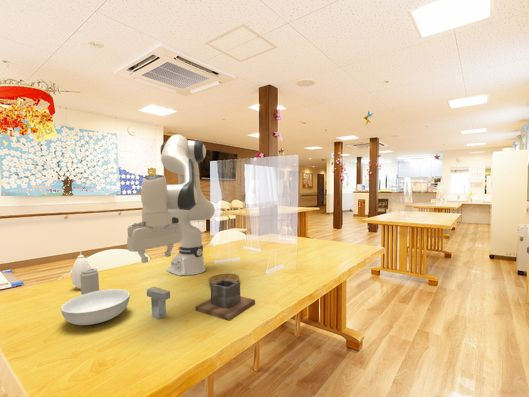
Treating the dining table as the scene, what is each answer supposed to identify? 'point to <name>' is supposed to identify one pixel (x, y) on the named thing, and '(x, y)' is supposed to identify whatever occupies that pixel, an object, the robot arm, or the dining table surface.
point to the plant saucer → (223, 276)
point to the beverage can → (89, 281)
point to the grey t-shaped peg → (158, 301)
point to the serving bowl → (95, 306)
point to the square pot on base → (225, 300)
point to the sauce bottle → (79, 270)
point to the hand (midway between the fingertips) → (156, 259)
